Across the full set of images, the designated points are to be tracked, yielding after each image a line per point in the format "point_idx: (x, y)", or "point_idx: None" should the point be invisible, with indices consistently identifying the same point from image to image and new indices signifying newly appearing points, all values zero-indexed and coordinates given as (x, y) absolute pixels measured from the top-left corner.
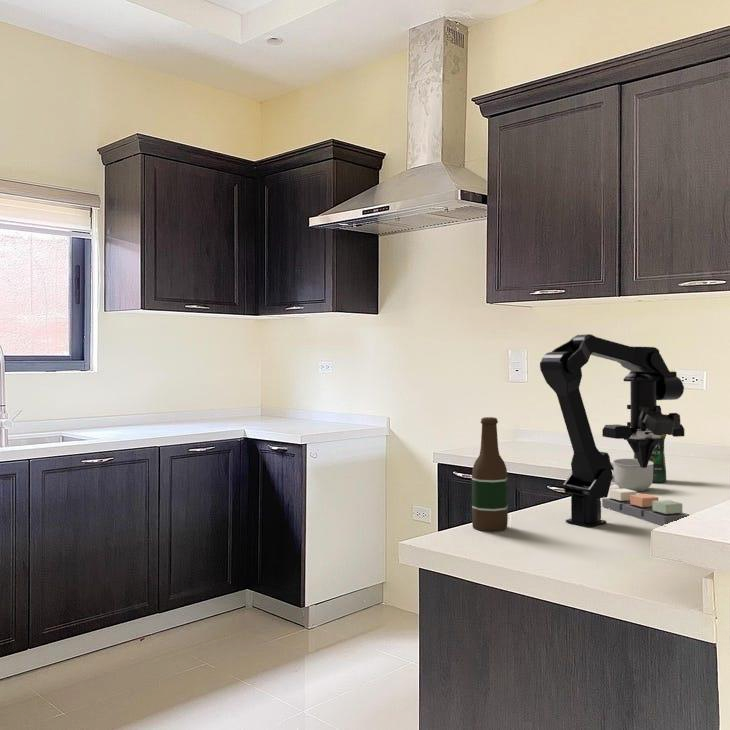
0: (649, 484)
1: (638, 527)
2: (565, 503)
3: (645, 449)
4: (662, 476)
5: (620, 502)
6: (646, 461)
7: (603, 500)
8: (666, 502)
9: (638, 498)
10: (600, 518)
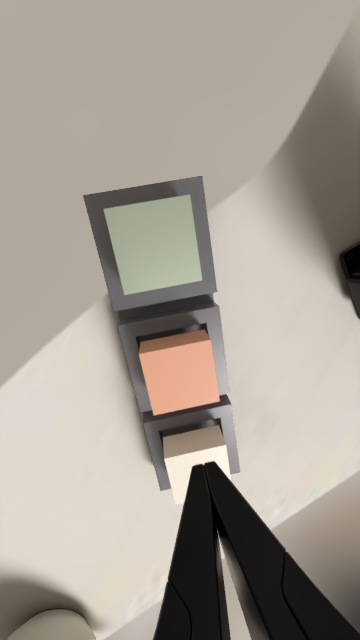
0: (13, 635)
1: (279, 189)
2: (296, 491)
3: (276, 635)
4: None
5: None
6: (206, 498)
7: (238, 463)
8: (160, 243)
9: (212, 357)
10: (355, 271)
